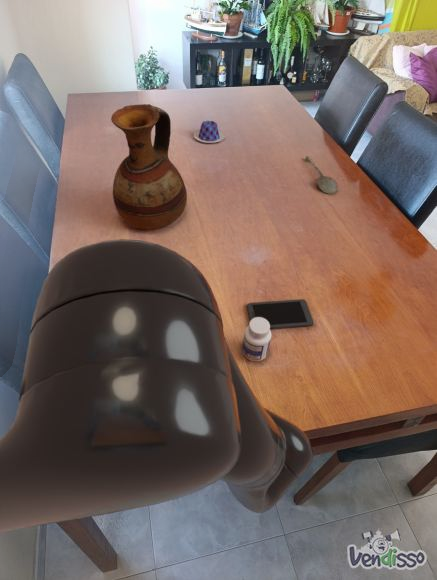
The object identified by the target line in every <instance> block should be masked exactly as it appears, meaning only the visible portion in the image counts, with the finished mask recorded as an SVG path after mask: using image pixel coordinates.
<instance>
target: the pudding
mask: <svg viewBox="0 0 437 580" xmlns="http://www.w3.org/2000/svg"><path fill="white" fill-rule="evenodd" d="M193 138H194V139H195V140H197V141H199V142H201V143H208V144H212V143H218V142H221V141H223V140H224V139H225V138H226V135H225V133H224V132H223V131H222V130H219V126H218V123H217V122H216V121H214V120H204V121H202V122H201V125H200V129H198V130H196V131H194V132H193Z"/></svg>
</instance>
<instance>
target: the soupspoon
mask: <svg viewBox="0 0 437 580" xmlns="http://www.w3.org/2000/svg"><path fill="white" fill-rule="evenodd" d="M305 160H306V161H308V162H309V163H311V165H312V166H313V168H314V169H315V170H316V172H317V173H318V175H319V176H318V178H317V179H316V184H317V187H318V188H319V190H321V191H322V192H323V193H325V194H328V195H333V194H335V193H336V192H337V191H338V189H339V185H338V183H337V181H336V180H335V179H334V178H332V177H331V176H326V175H324V174H323V172H322V171H321V170H320V169H319V167H318V166H317V165H316V164H315V162H314V161H313V160H312V159H311V156H310V155H306V156H305Z"/></svg>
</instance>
